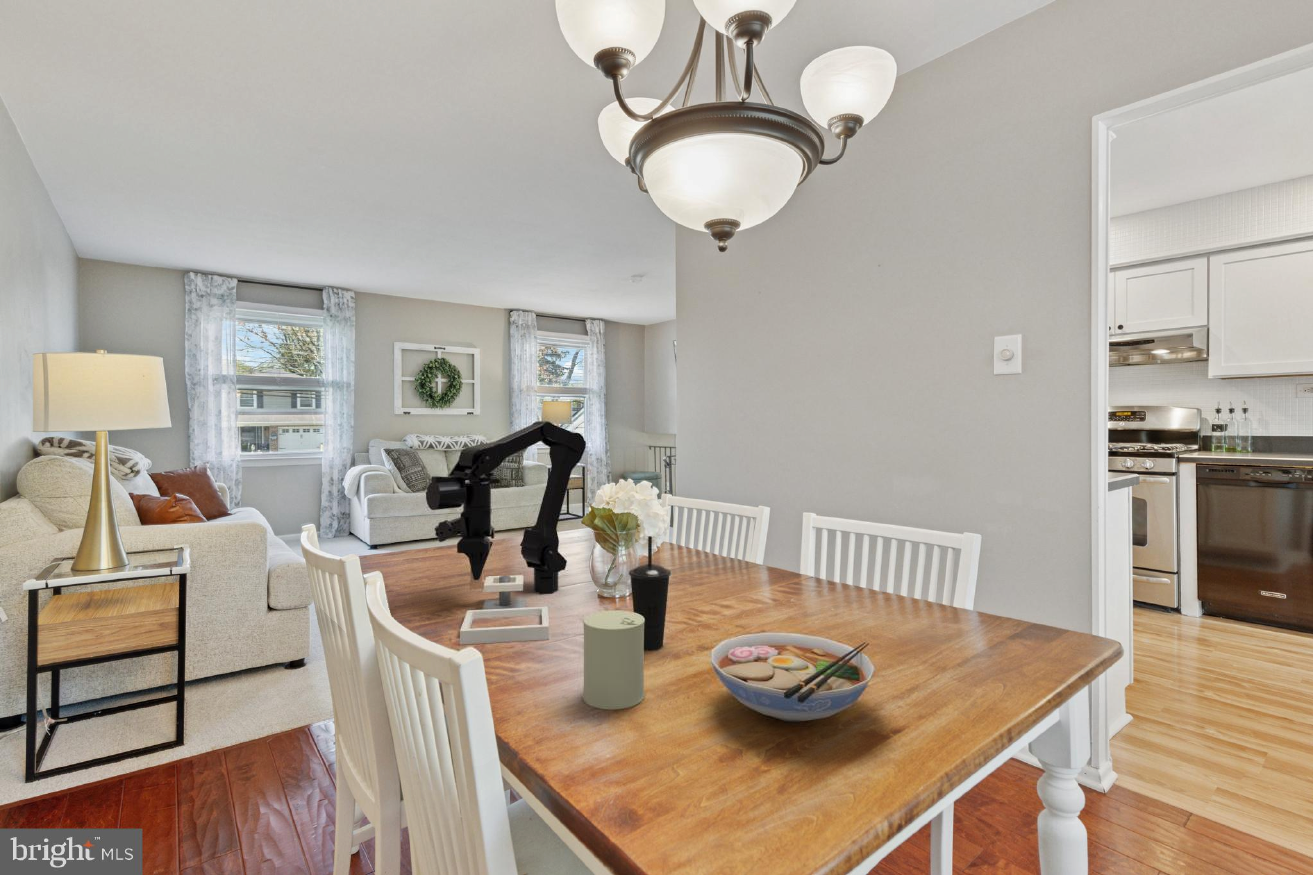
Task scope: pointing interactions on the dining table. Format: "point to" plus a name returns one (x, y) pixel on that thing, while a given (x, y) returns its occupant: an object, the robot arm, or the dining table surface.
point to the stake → (504, 599)
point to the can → (613, 659)
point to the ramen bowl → (792, 674)
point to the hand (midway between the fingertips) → (477, 578)
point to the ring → (497, 583)
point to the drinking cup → (651, 599)
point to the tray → (504, 632)
